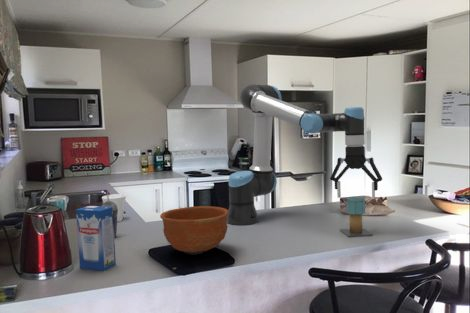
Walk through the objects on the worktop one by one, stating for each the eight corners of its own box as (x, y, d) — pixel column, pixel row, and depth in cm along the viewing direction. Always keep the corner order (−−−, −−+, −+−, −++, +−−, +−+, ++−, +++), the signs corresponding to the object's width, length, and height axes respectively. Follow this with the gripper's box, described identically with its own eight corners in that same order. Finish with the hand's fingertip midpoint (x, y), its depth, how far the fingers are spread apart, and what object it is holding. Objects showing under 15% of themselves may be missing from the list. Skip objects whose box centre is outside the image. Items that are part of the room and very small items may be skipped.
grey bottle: (103, 240, 166) (100, 193, 165) (100, 236, 173) (97, 190, 171) (121, 238, 170) (118, 191, 168) (117, 234, 176) (115, 189, 175)
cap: (350, 214, 160) (350, 200, 160) (344, 211, 167) (344, 196, 167) (367, 213, 161) (367, 199, 160) (360, 210, 168) (360, 196, 167)
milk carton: (79, 268, 135) (75, 209, 133) (92, 262, 140) (88, 205, 139) (104, 271, 131) (100, 210, 129) (116, 264, 137) (112, 206, 135)
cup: (130, 220, 201) (129, 196, 200) (107, 224, 194) (105, 199, 194) (123, 216, 211) (121, 193, 210) (100, 220, 204) (98, 196, 203)
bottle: (348, 237, 159) (347, 205, 158) (339, 230, 169) (339, 201, 168) (372, 235, 160) (372, 204, 159) (362, 229, 170) (362, 200, 169)
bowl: (172, 269, 131) (170, 223, 130) (155, 248, 154) (153, 209, 152) (241, 256, 141) (239, 214, 139) (215, 239, 163) (214, 202, 162)
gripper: (388, 144, 160) (389, 197, 161) (326, 145, 171) (327, 195, 172) (387, 145, 153) (387, 200, 155) (322, 146, 164) (323, 198, 165)
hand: (356, 197), depth 163 cm, fingers open, 13 cm apart
